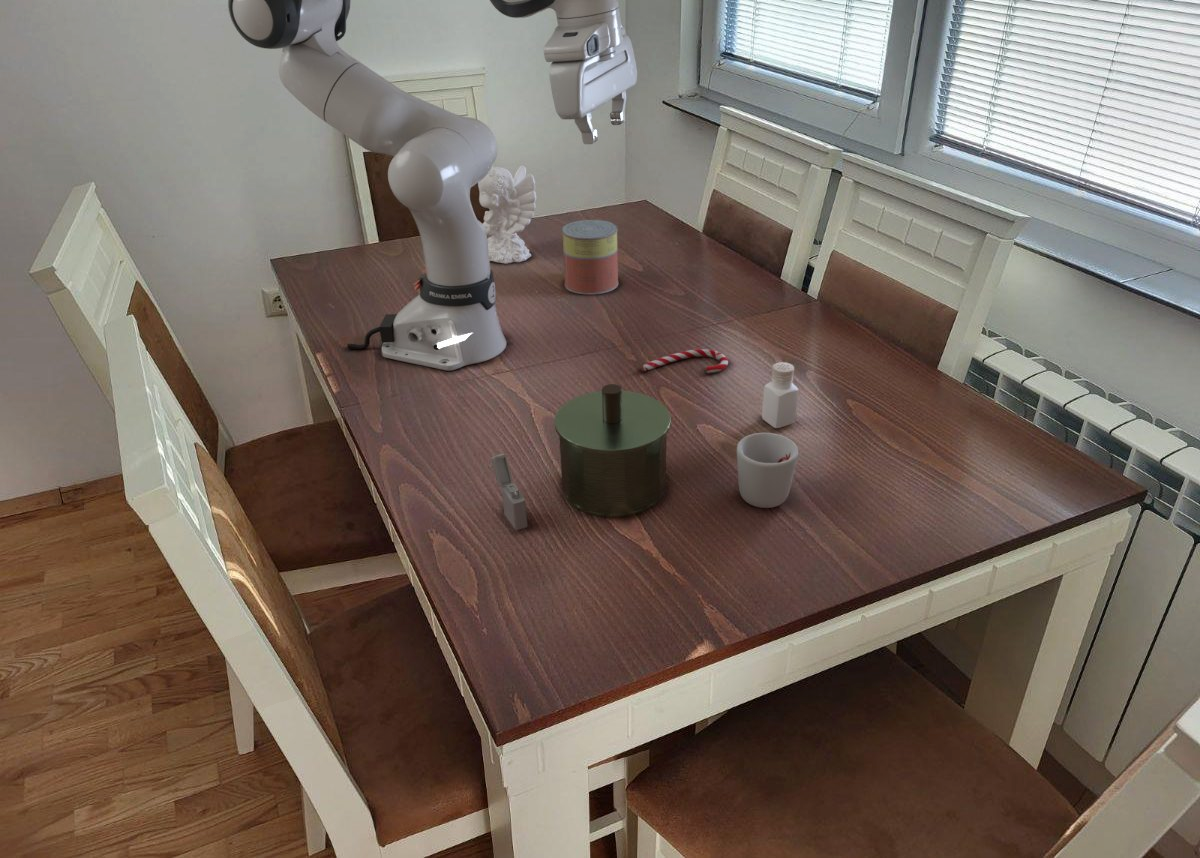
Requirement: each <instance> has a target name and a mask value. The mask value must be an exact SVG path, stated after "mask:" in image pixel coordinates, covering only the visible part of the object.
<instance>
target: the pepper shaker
mask: <svg viewBox="0 0 1200 858" xmlns="http://www.w3.org/2000/svg"><path fill="white" fill-rule="evenodd" d="M771 368H772V369H771V381H769V382H768V383H766V384H764V387H763V395H762V396H763V397H762V409H761V410H762V411H761V418H762V420H763V421H765V423H767V424H768V425H770V426H771V427H773V428H775V429H780V428H783V427H787V426H789V425H792V424H794V423H795V422H796V418H797V410H798V400H799V393H800V391H799V388H798V387H797V386H796V385H795V384H794V383H793V380H794V374H795V365H793V364H792V363H789V362H786V361H785V362H783V361H779V362H775V363H773V365H772V367H771Z"/></svg>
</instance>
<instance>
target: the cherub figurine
mask: <svg viewBox="0 0 1200 858" xmlns="http://www.w3.org/2000/svg"><path fill="white" fill-rule="evenodd" d="M477 186H478V191H479V192H478V193H479V196H478V201H479V202H478V203H479V204H480V206H481V207H482V208H485V209H488V210H486V211H484V215H483V222H482V224H483V225H484V227H485V228H486V231H487V241H488V250H489V261H490V262H495V263H498V264H511V263H521V262H524V261H527V260H528V259H529V258H530V257H532V254H531V253H530V249H529V248H528V247H527V246H526V245H525V244H526V243H525V241H524V240H523V239H522V238H521V237H520V236H519V235H518V233H521V232H523V231H524V230H525V228H526V227H527V226H529V225H530V224H531V219H533V217H534V215H535V211H536V209H537V204H536V201H537V192H536V191H535V190H536V188H537V187H536V179H535V177H534V175H533V174H532V173H529V174H527V168H526V166H525V165H520V166H519V167H518V168H517V170H516V172H515V174H514V177H513V175H512V173H511V172H510V170H509V169H507V168H505V167H502V166H494V167H493V166H492V167H491V169H490V171H489V172H488V174H487V175H486V176H485V177H484V178H483V179H482V180H481V181H479V182H478V183H477ZM488 235H489V237H488Z"/></svg>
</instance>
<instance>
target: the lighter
mask: <svg viewBox="0 0 1200 858" xmlns="http://www.w3.org/2000/svg"><path fill="white" fill-rule="evenodd" d="M490 460H491V464H492V468H493V472H494V475H495V481H496V484H497V486H498V487H500V488H501V495H502V507H503V514H504V516H505V518H506V519H507V521H508V522H509V523H510V525H511V526H512V528H513V529H514V530H515V531H520V530H523V529H525V528H528V516H527V515H528V514H527V503H526V499H525V498H524V496H523V495H522V493H521V492H520V489H519V488H518V487H517V485H516V484H515V482H514V481H513V477H512V473H511V469H510V465H509V461H508V456H507V455H506V454H504V453H499V454H497V455H493V456H491V457H490Z"/></svg>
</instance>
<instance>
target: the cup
mask: <svg viewBox="0 0 1200 858" xmlns="http://www.w3.org/2000/svg"><path fill="white" fill-rule="evenodd" d="M736 445H737V446H736V463H737V464H736V465H737V480H738V491H739V495H740V496H741V498H742V500H743V501H744V502H746V503H747V504H749V505H751V506H753V507H756V508H760V509H772V508H775V507H776V508H777V507H779V506H781V505H782V504H783V503H784V502H785V501H786V500H787V499H788V497H789V495H790V491H791V487H792V482H793V478H794V474H795V470H796V466H797V461H798V457H799V449H798V446H797V445H796V443H795V442H794V441H792V439H790V438H788V437H786V436H784V435H782V434H777V433H773V432H756V433H752V434H748V435H745V436H744V437H742V438H741V439H740V440H739V442H738V443H737V444H736Z"/></svg>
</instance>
